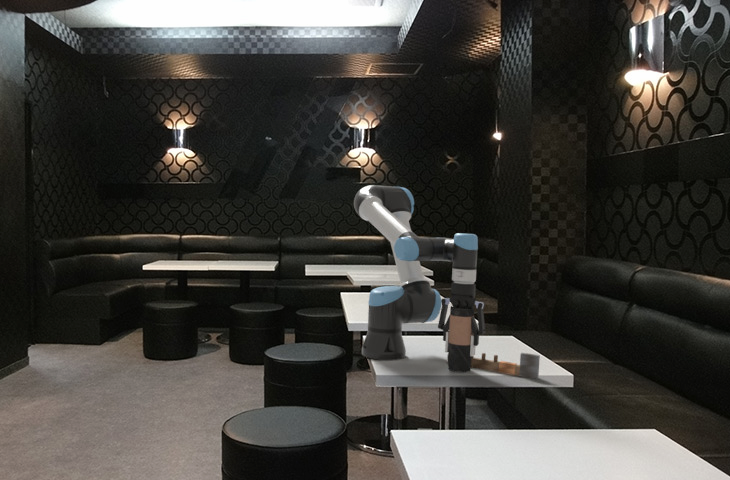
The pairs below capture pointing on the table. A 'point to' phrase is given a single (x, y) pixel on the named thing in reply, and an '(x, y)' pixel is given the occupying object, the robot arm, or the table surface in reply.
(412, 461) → the table surface
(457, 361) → the travel mug
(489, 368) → the comb rail
